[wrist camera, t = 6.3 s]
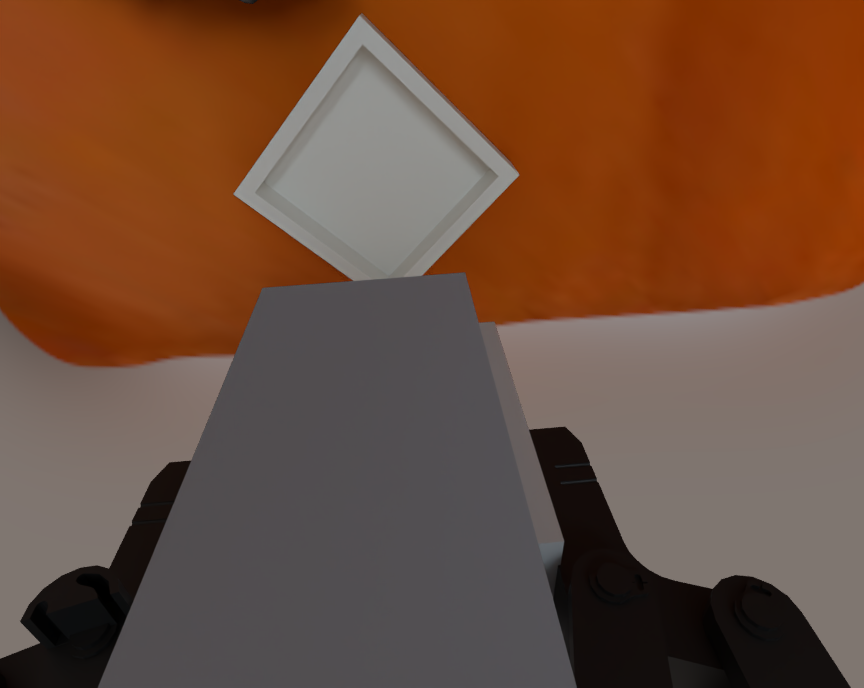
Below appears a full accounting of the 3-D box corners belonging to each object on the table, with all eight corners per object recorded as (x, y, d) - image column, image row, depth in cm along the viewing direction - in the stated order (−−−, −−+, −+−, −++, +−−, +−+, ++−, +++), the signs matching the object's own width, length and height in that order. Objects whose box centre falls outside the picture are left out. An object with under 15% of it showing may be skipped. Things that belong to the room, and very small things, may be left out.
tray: (362, 12, 25) (359, 15, 23) (510, 161, 30) (519, 174, 28) (244, 179, 30) (233, 194, 27) (390, 288, 34) (390, 307, 32)
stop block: (262, 288, 13) (37, 833, 5) (465, 272, 13) (601, 775, 5) (301, 434, 16) (206, 932, 7) (466, 420, 16) (553, 894, 8)
